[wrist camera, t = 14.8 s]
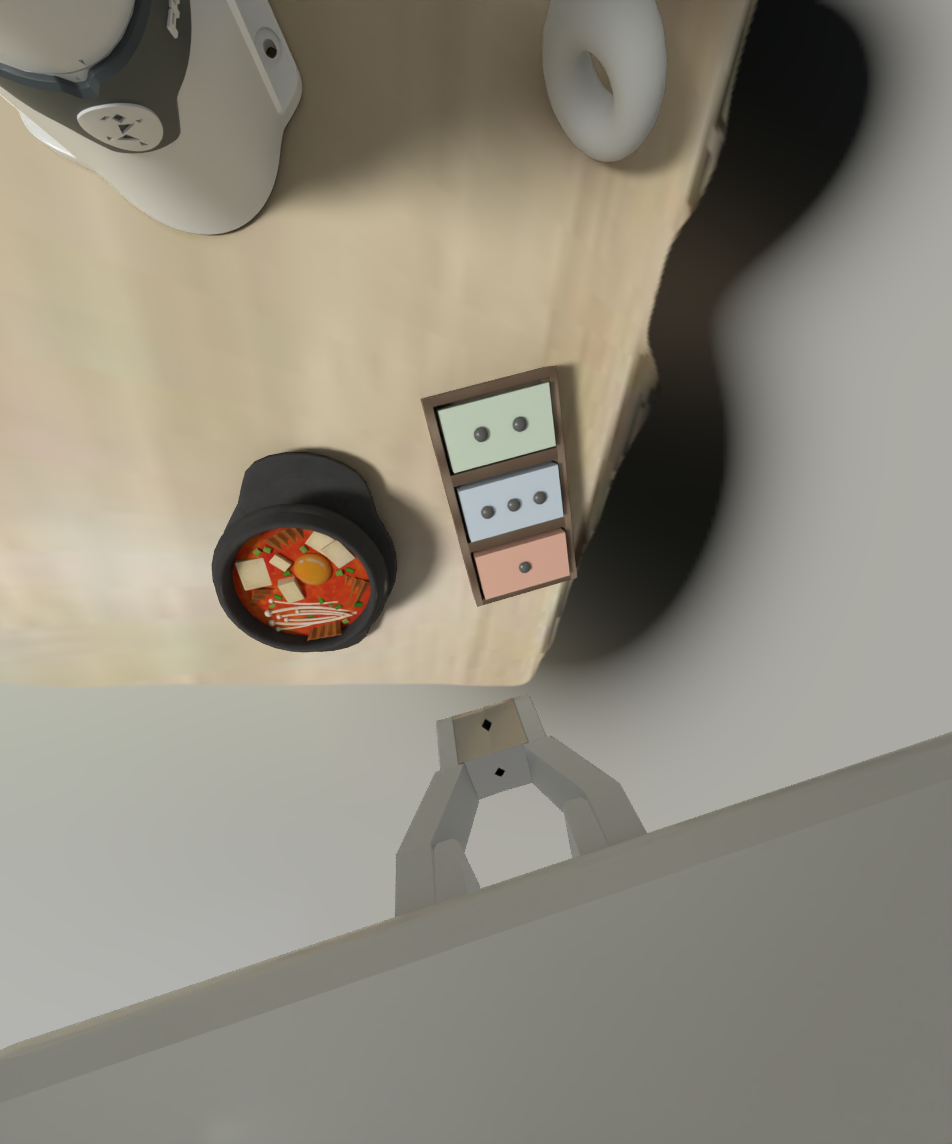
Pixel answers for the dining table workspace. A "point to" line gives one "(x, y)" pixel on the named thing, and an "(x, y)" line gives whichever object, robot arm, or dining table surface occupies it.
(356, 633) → the casserole
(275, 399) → the dining table surface
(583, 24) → the donut
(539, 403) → the counting block
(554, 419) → the wooden counting block tray
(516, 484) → the counting block
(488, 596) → the counting block
